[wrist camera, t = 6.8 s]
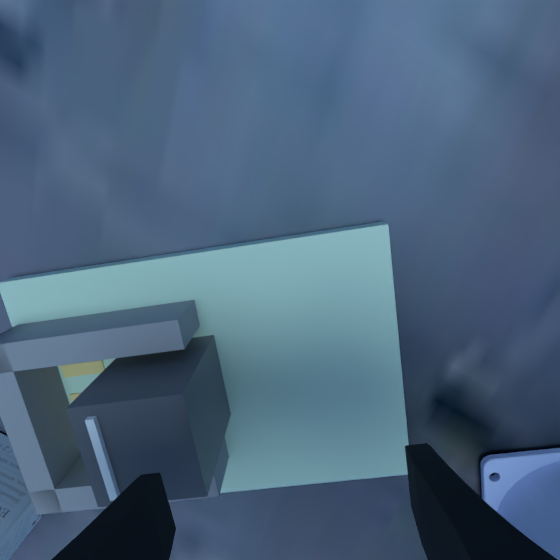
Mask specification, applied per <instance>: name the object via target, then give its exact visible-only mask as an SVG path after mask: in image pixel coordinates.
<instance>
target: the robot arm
mask: <svg viewBox="0 0 560 560" xmlns="http://www.w3.org/2000/svg"><path fill="white" fill-rule="evenodd" d="M405 453H406V462H407V471H408V480H409V490H410V499H411V507H412V510H413V514H414V518H415V521H416V525H417V528H418V532H419V535H420V539H421V542H422V545H423V548H424V551H425V553H426V556H427V558H428V560H560V448H552V449H542V450H533V451H523V452H513V453H503V454H493V455H488V456H486V457H484V458H483V459H482V461H481V464H480V465H481V488H482V498H481V497H480V496H479V495H478V494H477V493H476V492H475V491H474V490H472V489H471V488H470V487H469V486H468V485H467V484H466V483H465V482H464V481H463V480H462V479H461V478H460V477H459V476H458V475H457V474H456V473H455V472H454V471H453V470H452V469H451V468H450V467H449V466H448V465H447V464H446V463H445V461H444V460H443V459H442V458H441V457H440V456H439V455H438V454H437V453H436V452H435V450H434V449H433V448H432V447H431V446H430V445H428V444H427V443H425V444H416V445H407V446H405ZM492 473H496V474H494V475H492V476H490V475H491V474H492ZM175 530H176V527H175V523H174V520H173V516H172V513H171V509H170V506H169V502H168V499H167V495H166V491H165V488H164V484H163V481H162V477H161V474H160V473H151V474H142V475H140V476H139V477H138V478H137V479H135V480H134V481H133V482H132V483H131V484H130V485H129V486H128V487H127V488H126V489H125V490H124V491H123V492H122V493H121V494H120V495H119V496H118V497H117V498H116V499H115V500H114V501H113V502H112V503H111V504H110V505H109V506H108V507H107V508H106V509H105V510H104V511H103V512H102V513H101V514H100V515H99V516H98V517H97V518H96V519H95V520H93V521H92V522H91V523H90V524H89V525H88V526H87V527H86V528H85V529H84V530H83V531H82V532H81V533H80V534H79V535H78V536H77V537H76V538H75V539H73V540H72V541H71V542H70V543H69V544H68V545H67V546H66V547H65V548H64V549H63V550H61V551H60V552H59V553H58V554H57V555H56V556H55V557H54V558H53V559H52V560H169V558H170V553H171V549H172V544H173V540H174V535H175Z"/></svg>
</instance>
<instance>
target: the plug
mask: <svg viewBox="0 0 560 560" xmlns="http://www.w3.org/2000/svg"><path fill="white" fill-rule="evenodd" d="M66 411H67V414H68V417H69V420H70V423H71V426H72V429H73V432H74V435H75V438H76V441H77V444H78V447H79V450H80V453H81V457H82V460H83V463H84V466H85V469H86V472H87V475H88V478H89V481H90V484H91V487H92V490H93V493H94V496H95V500H96V503H97V506H98V507H108V506H109V505H110V504H111V503H112V502H113V501H114V500H115V499H116V498H117V497H118V496H119V495H120V494H121V493H122V492H123V491H124V490H125V489H126V488H127V487H128V486H129V485H130V484H131V483H132V482H133V481H134V480H135V479H137V478H138V477H139V476H140V475H142V474H151V473H160V474H161V477H162V481H163V484H164V488H165V491H166V495H167V499H168V500H178V499H188V498H198V497H207V496H208V493H209V489H210V486H211V482H212V479H213V475H214V472H215V468H216V465H217V461H218V458H219V454H220V451H221V447H222V443H223V440H224V436H225V433H226V429H227V426H228V422H229V419H230V415H231V412H230V408H229V403H228V398H227V394H226V389H225V384H224V380H223V375H222V370H221V366H220V361H219V356H218V352H217V347H216V342H215V338H214V335H209V336H202V337H194V338H192V339H191V340H190V342H189V343H188V345H187V346H186V348H185V349H183V350H175V351H167V352H160V353H152V354H144V355H137V356H129V357H121V358H116V359H115V360H114V361H113V362H112V363H111V364H110V365H109V366H108V367H107V368H106V369H105V370H104V371H103V372H102V373H101V374H100V375H99V376H98V377H97V378H96V379H95V380H94V381H93V382H92V383H91V384H90V385H89V386H88V387H87V388H86V389H85V390H84V391H83V392H82V393H81V394H80V395H79V396H78V397H77V398H76V399H75V400H74V401H73V402H72V403H71V404H70V405H69V406H68V407H67V408H66Z"/></svg>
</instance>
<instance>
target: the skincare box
mask: <svg viewBox="0 0 560 560" xmlns="http://www.w3.org/2000/svg"><path fill="white" fill-rule="evenodd" d="M41 516H42V514H40V515H37V514H36V511H35V508H34V505H33V503H32V500H31V497H30V495H29V492H28V489H27V487H26V484H25V481H24V478H23V476H22V473H21V470H20V468H19V465H18V462H17V460H16V457H15V454H14V452H13V449H12V446H11V443H10V441H9V438H8V436H6V435H4V434H2V433H0V560H9V558H10V557H11V556H12V554H13V553H14V552H15V550H16V549H17V548H18V547H19V545H20V544H21V543H22V541H23V540H24V539H25V538H26V536H27V535H28V534H29V532H30V531H31V530H32V529H33V527H34V526H35V525H36V524H37V523H38V521H39V520H40V518H41Z"/></svg>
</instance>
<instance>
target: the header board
mask: <svg viewBox="0 0 560 560" xmlns="http://www.w3.org/2000/svg"><path fill="white" fill-rule="evenodd" d="M0 293H1V296H2V299H3V302H4V304H5V307H6V310H7V313H8V316H9V319H10V322H11V325H12V328H11V329H9V330H7V331H5V332H3V333H1V334H0V416H1V419H2V422H3V425H4V427H5V430H6V433H7V435H8V438H9V441H10V443H11V446H12V449H13V452H14V454H15V457H16V460H17V462H18V465H19V468H20V470H21V473H22V476H23V478H24V481H25V484H26V487H27V489H28V492H29V495H30V497H31V500H32V503H33V505H34V508H35V511H36V514H37V515H40V514H50V513H60V512H71V511H81V510H91V509H101V508H107V507H98V506H97V503H96V500H95V496H94V493H93V490H92V487H91V484H90V481H89V478H88V475H87V472H86V469H85V466H84V463H83V460H82V457H81V453H80V450H79V447H78V444H77V441H76V438H75V435H74V432H73V429H72V426H71V423H70V420H69V417H68V414H67V411H66V408H67V407H68V406H69V405H70V404H71V403H72V402H73V401H74V400H75V399H76V398H77V397H78V396H79V395H80V394H81V393H82V392H83V391H84V390H85V389H86V388H87V387H88V386H89V385H90V384H91V383H92V382H93V381H94V380H95V379H96V378H97V377H98V376H99V375H100V374H101V373H102V372H103V371H104V370H105V369H106V368H107V367H108V366H109V365H110V364H111V363H112V362H113V361H114V360H115V359H116V358H121V357H129V356H137V355H144V354H152V353H160V352H167V351H175V350H183V349H185V348H186V346H187V345H188V343H189V342H190V340H191V339H192V338H194V337H202V336H209V335H214V338H215V342H216V347H217V352H218V356H219V361H220V366H221V370H222V375H223V380H224V384H225V389H226V394H227V398H228V403H229V408H230V412H231V415H230V419H229V422H228V426H227V429H226V433H225V436H224V440H223V443H222V447H221V451H220V454H219V458H218V461H217V465H216V468H215V472H214V475H213V479H212V482H211V486H210V489H209V493H208V496H207V497H198V498H188V499H178V500H168V502H172V501H183V500H193V499H203V498H213V497H219V495H220V493H225V492H235V491H246V490H256V489H266V488H276V487H286V486H296V485H306V484H316V483H326V482H336V481H347V480H357V479H367V478H377V477H387V476H397V475H407V474H408V471H407V462H406V453H405V446H407V445H409V444H408V433H407V422H406V412H405V401H404V390H403V379H402V368H401V358H400V347H399V336H398V325H397V315H396V304H395V293H394V282H393V271H392V261H391V250H390V239H389V228H388V224H387V223H385V222H383V221H382V222H376V223H369V224H362V225H356V226H349V227H343V228H336V229H329V230H323V231H316V232H310V233H303V234H296V235H290V236H283V237H277V238H270V239H263V240H257V241H250V242H244V243H237V244H230V245H224V246H217V247H210V248H204V249H197V250H191V251H184V252H177V253H171V254H164V255H158V256H151V257H144V258H138V259H131V260H125V261H118V262H111V263H105V264H98V265H92V266H85V267H78V268H72V269H65V270H59V271H52V272H45V273H39V274H32V275H25V276H19V277H13V278H10V279H7V280H4V281H1V282H0Z"/></svg>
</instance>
